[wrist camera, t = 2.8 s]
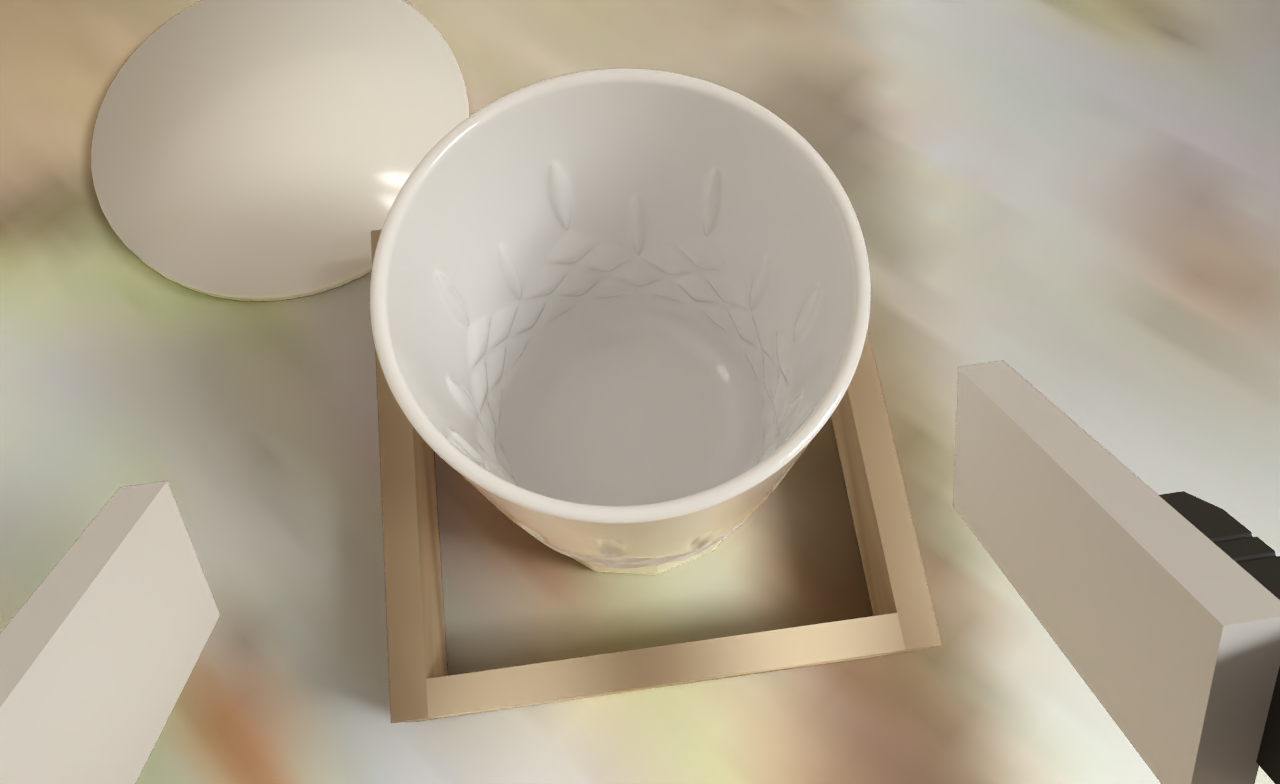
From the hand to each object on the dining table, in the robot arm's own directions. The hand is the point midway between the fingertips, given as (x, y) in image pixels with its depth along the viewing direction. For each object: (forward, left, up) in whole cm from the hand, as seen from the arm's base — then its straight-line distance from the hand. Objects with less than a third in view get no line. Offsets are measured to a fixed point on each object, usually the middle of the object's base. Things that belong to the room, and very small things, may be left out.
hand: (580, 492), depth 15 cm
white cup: (-1, -3, -8) cm, 9 cm away
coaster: (+8, -14, -8) cm, 18 cm away
